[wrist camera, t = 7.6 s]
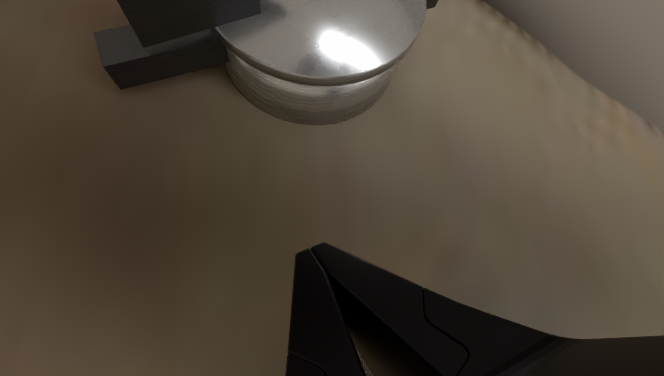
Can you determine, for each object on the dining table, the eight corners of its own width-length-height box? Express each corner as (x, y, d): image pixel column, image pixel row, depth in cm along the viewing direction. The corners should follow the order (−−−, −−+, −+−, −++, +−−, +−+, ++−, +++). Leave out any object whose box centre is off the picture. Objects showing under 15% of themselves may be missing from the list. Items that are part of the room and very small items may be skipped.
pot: (453, 85, 28) (486, 41, 24) (158, 181, 22) (125, 148, 18) (381, -32, 32) (397, -90, 27) (110, 24, 26) (72, -38, 21)
